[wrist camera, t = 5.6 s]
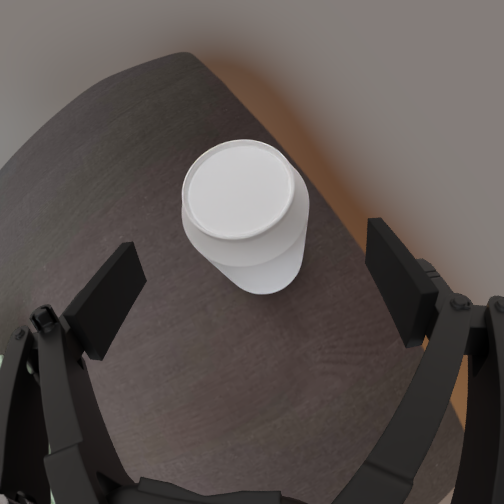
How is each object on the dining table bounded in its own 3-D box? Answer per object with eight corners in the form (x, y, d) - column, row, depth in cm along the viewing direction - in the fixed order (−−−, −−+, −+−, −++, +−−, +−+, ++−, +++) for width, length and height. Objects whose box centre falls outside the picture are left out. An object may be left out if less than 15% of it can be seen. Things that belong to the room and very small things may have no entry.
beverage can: (278, 209, 24) (265, 110, 13) (316, 272, 22) (340, 208, 11) (214, 244, 24) (151, 168, 13) (247, 310, 22) (199, 284, 11)
